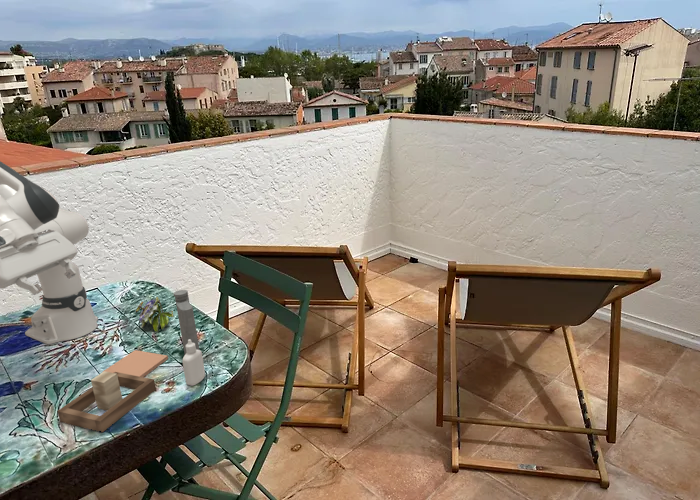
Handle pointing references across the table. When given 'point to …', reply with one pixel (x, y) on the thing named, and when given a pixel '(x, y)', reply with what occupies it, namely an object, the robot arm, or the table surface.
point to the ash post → (106, 390)
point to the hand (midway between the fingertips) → (56, 284)
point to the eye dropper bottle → (193, 364)
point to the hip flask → (186, 318)
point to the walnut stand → (101, 423)
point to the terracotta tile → (138, 363)
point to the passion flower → (149, 312)
